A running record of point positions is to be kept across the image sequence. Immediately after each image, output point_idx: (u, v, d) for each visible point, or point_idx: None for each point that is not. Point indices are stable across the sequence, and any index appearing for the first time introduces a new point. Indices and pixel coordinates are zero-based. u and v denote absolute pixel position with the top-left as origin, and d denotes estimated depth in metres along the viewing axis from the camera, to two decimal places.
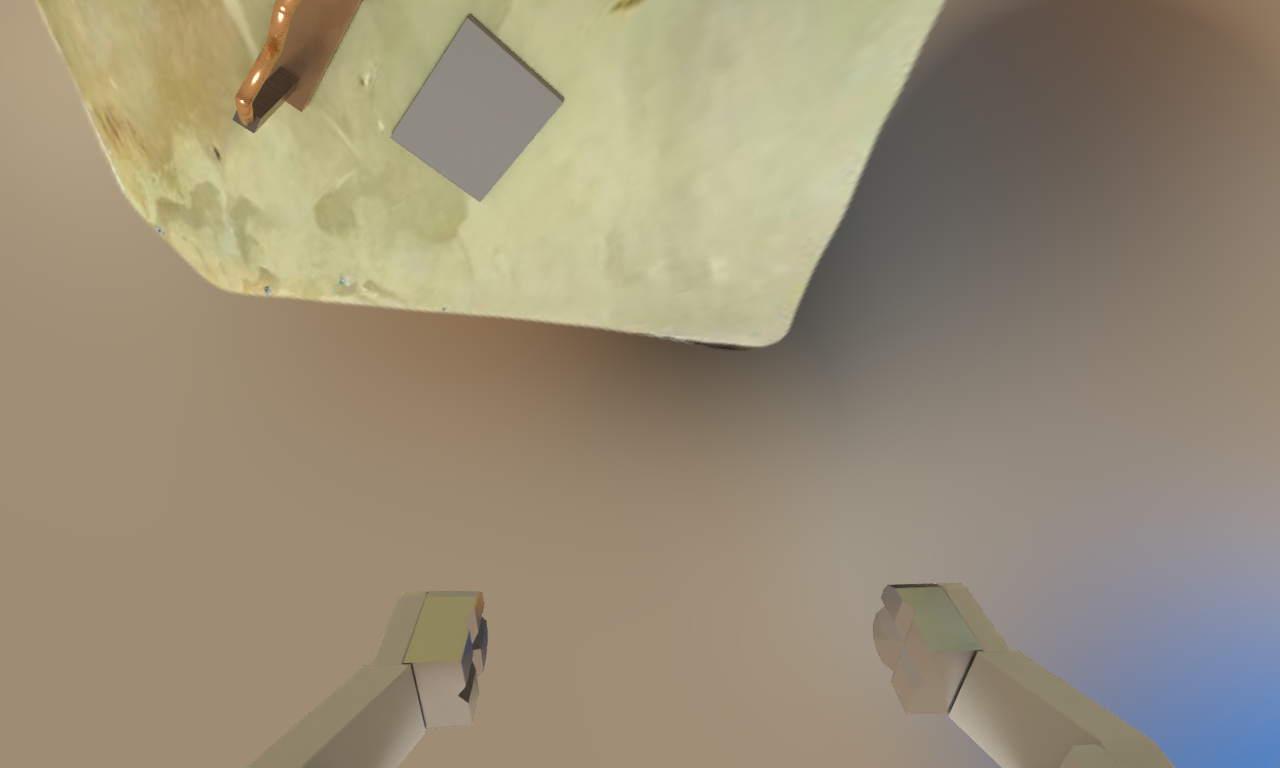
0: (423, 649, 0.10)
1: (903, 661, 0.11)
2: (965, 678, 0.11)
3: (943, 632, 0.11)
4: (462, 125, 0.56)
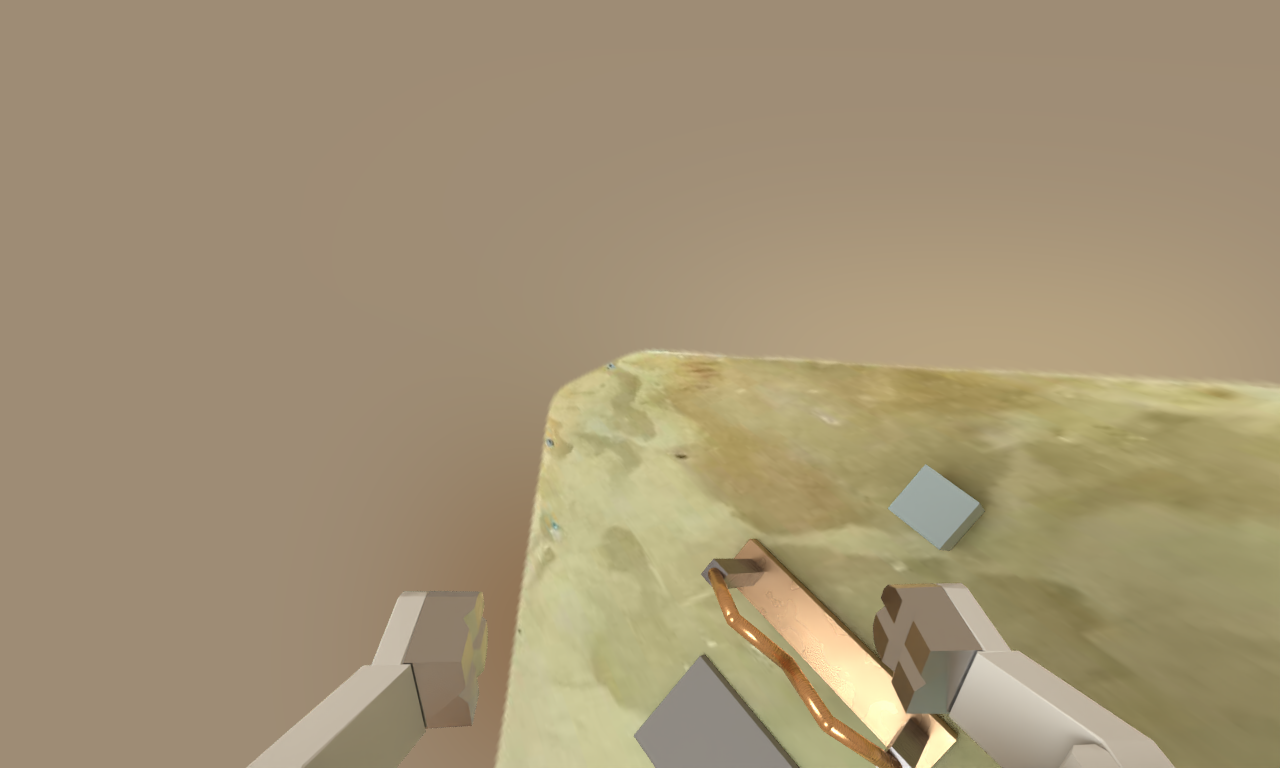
0: (423, 650, 0.10)
1: (903, 661, 0.11)
2: (965, 678, 0.11)
3: (943, 632, 0.11)
4: (714, 750, 0.50)
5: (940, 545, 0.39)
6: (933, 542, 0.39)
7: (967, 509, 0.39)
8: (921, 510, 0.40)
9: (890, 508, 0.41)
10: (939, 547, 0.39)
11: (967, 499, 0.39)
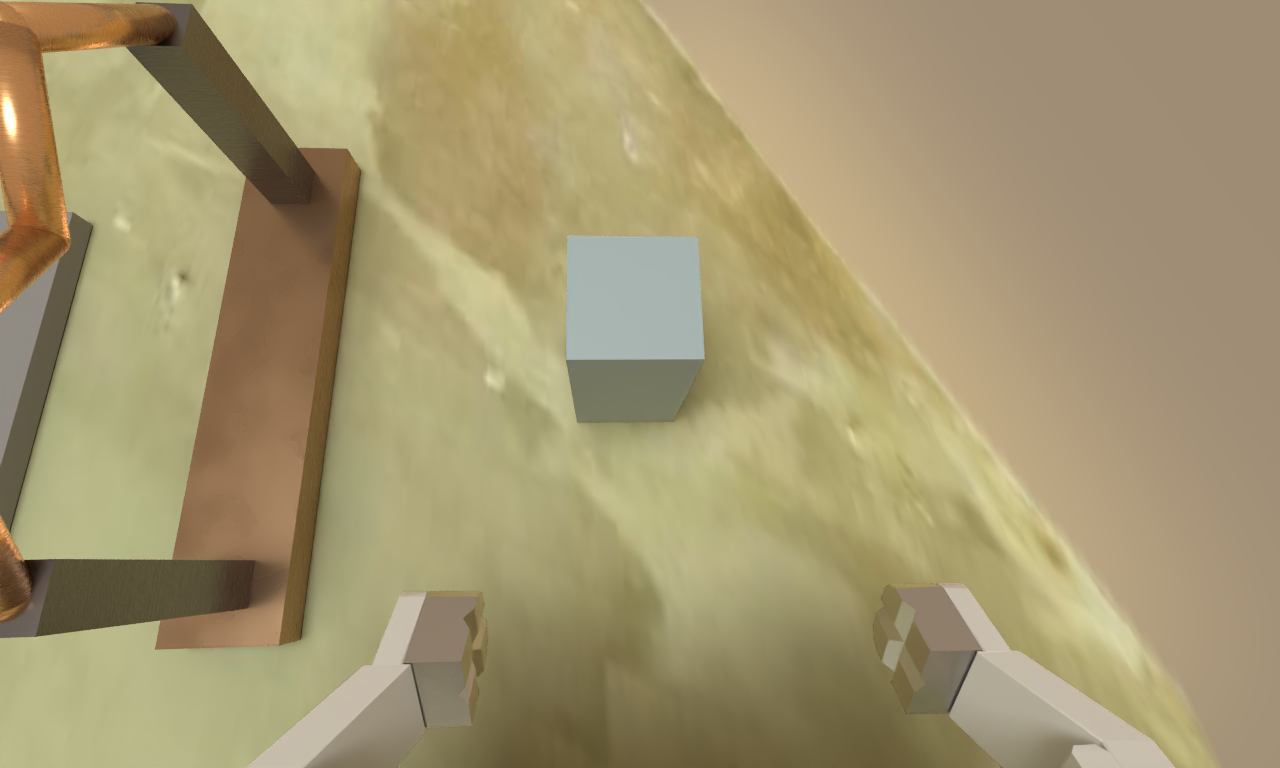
0: (424, 649, 0.10)
1: (903, 661, 0.11)
2: (965, 678, 0.11)
3: (943, 632, 0.11)
4: None
5: (575, 356, 0.17)
6: (569, 343, 0.17)
7: (677, 349, 0.17)
8: (610, 287, 0.18)
9: (571, 239, 0.18)
10: (570, 358, 0.17)
11: (694, 337, 0.17)
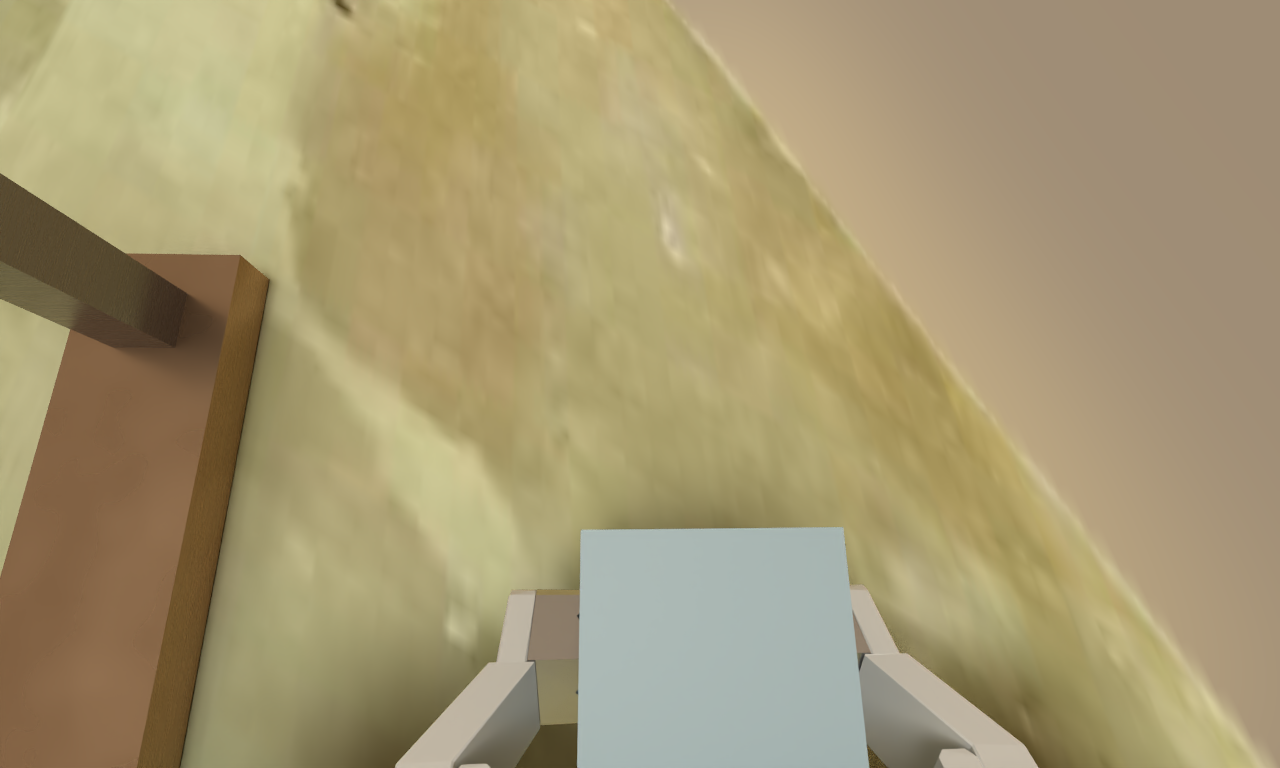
0: (544, 647, 0.10)
1: None
2: None
3: None
4: None
5: None
6: None
7: None
8: (670, 652, 0.08)
9: (589, 539, 0.09)
10: None
11: None
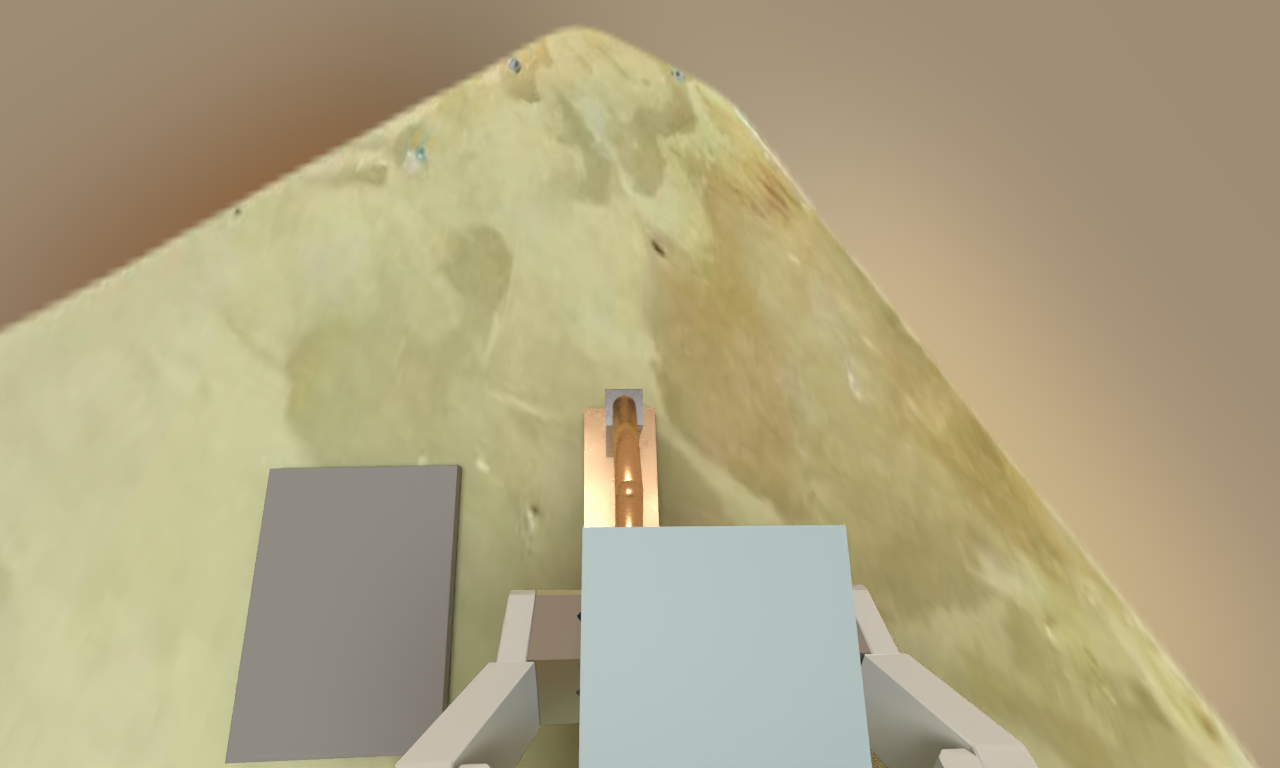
0: (544, 647, 0.10)
1: None
2: None
3: None
4: (363, 578, 0.31)
5: None
6: None
7: None
8: (672, 650, 0.08)
9: (590, 536, 0.09)
10: None
11: None
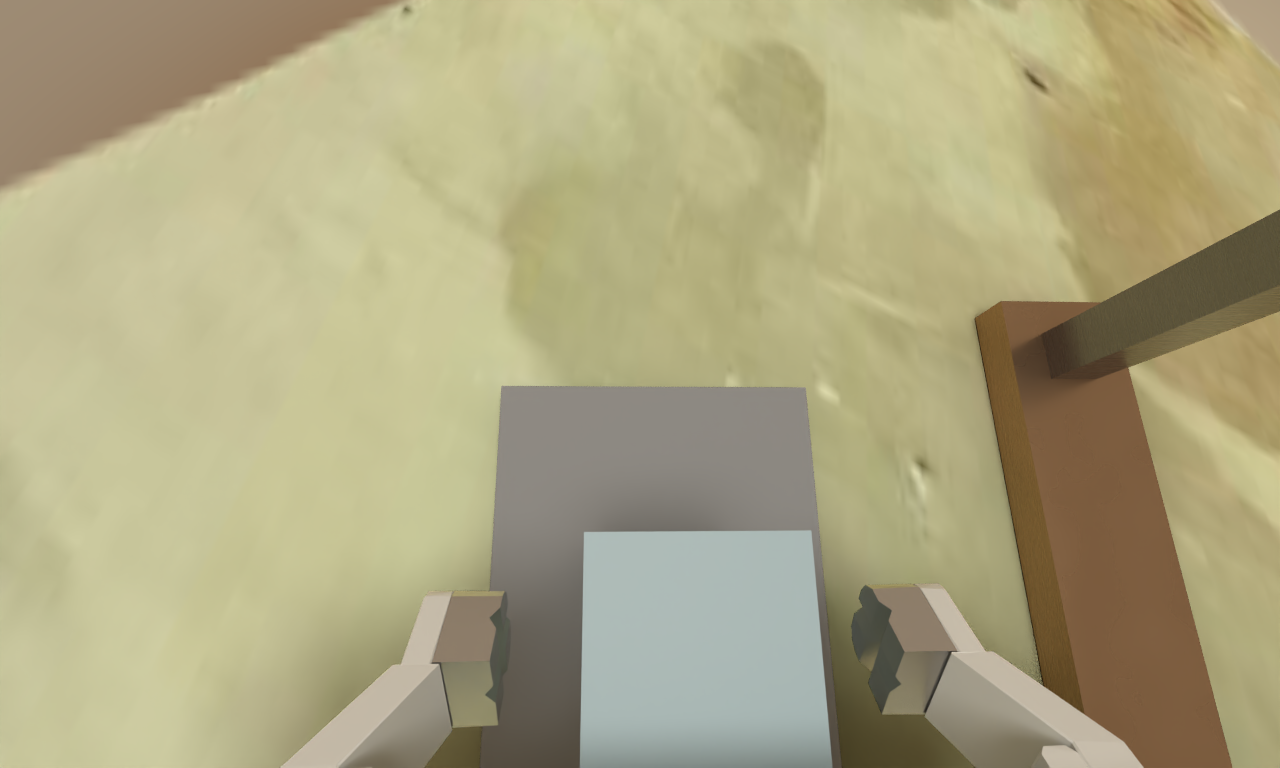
0: (451, 649, 0.10)
1: (879, 662, 0.11)
2: (940, 679, 0.11)
3: (918, 633, 0.11)
4: None
5: None
6: (586, 762, 0.09)
7: None
8: (660, 637, 0.10)
9: (590, 540, 0.10)
10: None
11: (814, 744, 0.09)
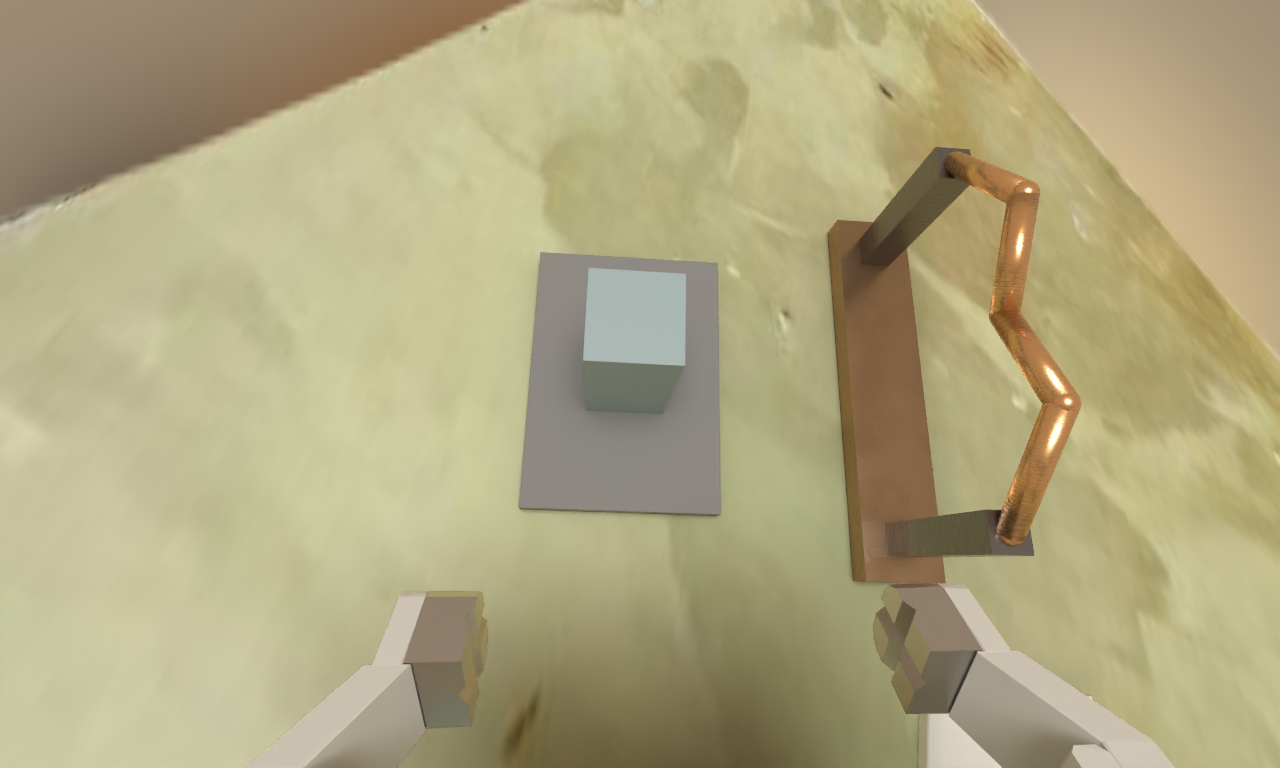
0: (423, 650, 0.10)
1: (903, 661, 0.11)
2: (965, 678, 0.11)
3: (943, 632, 0.11)
4: None
5: (589, 358, 0.23)
6: (586, 348, 0.23)
7: (665, 357, 0.23)
8: (618, 308, 0.24)
9: (591, 270, 0.24)
10: (586, 359, 0.23)
11: (678, 349, 0.23)
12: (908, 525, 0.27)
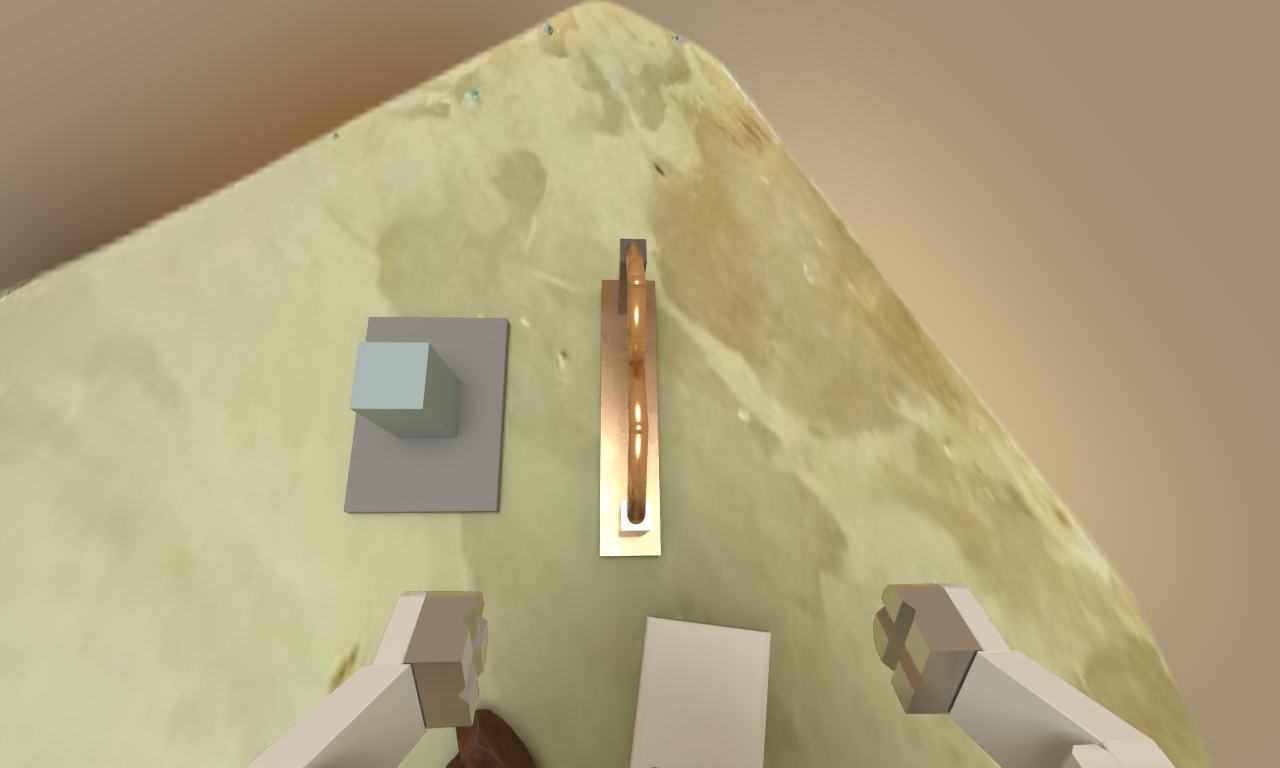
0: (424, 649, 0.10)
1: (903, 661, 0.11)
2: (965, 678, 0.11)
3: (943, 632, 0.11)
4: None
5: (355, 407, 0.33)
6: (352, 399, 0.33)
7: (408, 403, 0.34)
8: (378, 370, 0.34)
9: (360, 344, 0.34)
10: (352, 407, 0.33)
11: (418, 397, 0.34)
12: None
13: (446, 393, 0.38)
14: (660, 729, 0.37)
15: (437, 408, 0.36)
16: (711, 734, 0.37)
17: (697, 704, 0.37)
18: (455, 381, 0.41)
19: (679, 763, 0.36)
